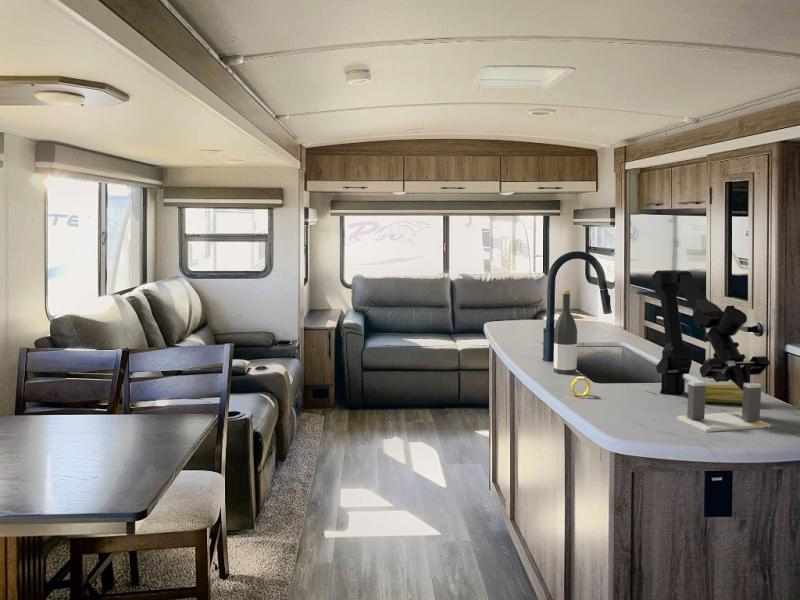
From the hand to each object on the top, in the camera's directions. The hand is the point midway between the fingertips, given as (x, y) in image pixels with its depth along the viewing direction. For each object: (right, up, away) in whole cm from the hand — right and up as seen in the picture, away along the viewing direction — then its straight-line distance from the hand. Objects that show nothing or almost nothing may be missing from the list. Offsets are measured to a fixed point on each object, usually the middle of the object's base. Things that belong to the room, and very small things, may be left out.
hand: (747, 392), depth 197 cm
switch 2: (0, -7, -1) cm, 7 cm away
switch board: (-7, -8, +1) cm, 11 cm away
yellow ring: (-37, -5, +33) cm, 50 cm away
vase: (+10, -3, +20) cm, 22 cm away
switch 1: (-13, -7, +2) cm, 15 cm away
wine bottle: (-34, -1, +68) cm, 76 cm away
